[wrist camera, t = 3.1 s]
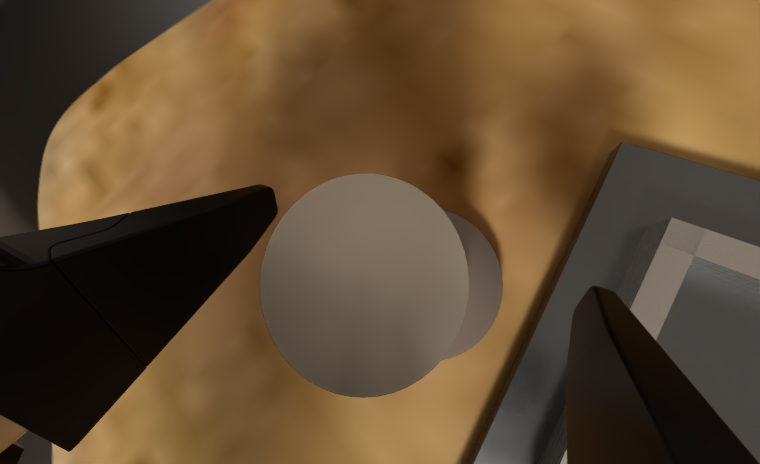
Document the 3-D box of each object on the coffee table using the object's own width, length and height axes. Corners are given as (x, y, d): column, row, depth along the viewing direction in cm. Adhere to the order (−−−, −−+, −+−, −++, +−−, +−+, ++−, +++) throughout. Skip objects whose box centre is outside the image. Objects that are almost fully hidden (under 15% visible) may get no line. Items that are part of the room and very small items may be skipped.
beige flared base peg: (512, 352, 13) (625, 519, 4) (363, 358, 15) (194, 484, 6) (486, 202, 15) (525, 57, 5) (352, 223, 17) (201, 142, 7)
